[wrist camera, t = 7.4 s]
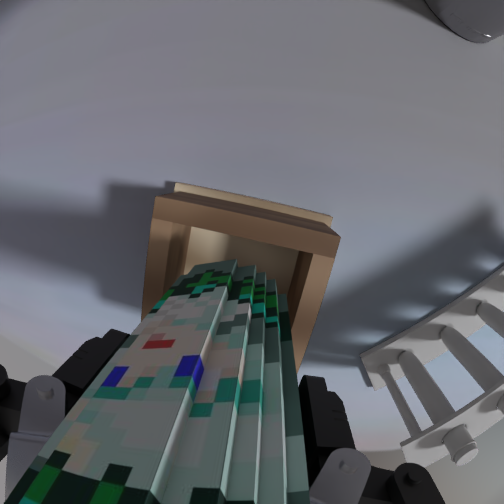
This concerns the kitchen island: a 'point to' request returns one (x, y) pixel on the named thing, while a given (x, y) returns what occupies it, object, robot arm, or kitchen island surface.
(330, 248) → the sleeve holder
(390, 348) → the test tube rack
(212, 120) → the kitchen island surface
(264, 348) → the can
